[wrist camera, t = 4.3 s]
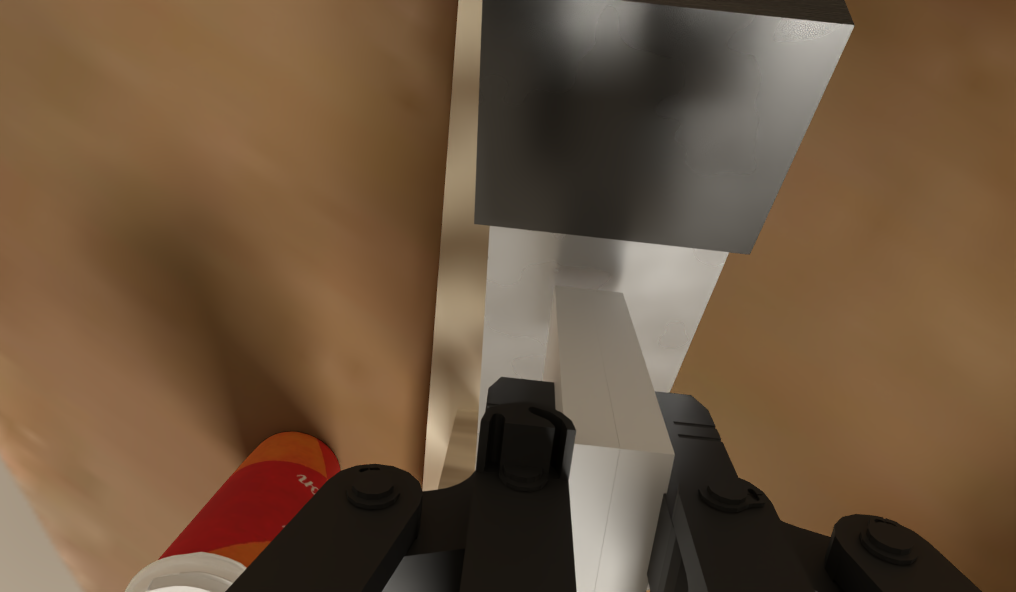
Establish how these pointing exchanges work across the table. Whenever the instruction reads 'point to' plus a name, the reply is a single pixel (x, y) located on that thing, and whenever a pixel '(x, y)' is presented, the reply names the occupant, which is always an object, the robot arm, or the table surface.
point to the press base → (459, 279)
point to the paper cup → (242, 516)
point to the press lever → (634, 156)
